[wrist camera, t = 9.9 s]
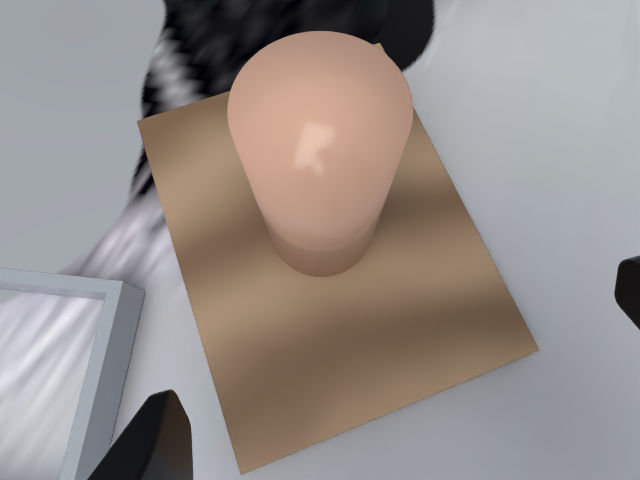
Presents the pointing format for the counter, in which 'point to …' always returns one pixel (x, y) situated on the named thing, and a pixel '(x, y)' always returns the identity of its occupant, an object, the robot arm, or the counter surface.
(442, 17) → the counter surface
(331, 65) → the pink tall rounded piece
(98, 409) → the grey box
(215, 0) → the counter surface
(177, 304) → the counter surface
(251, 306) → the walnut board
